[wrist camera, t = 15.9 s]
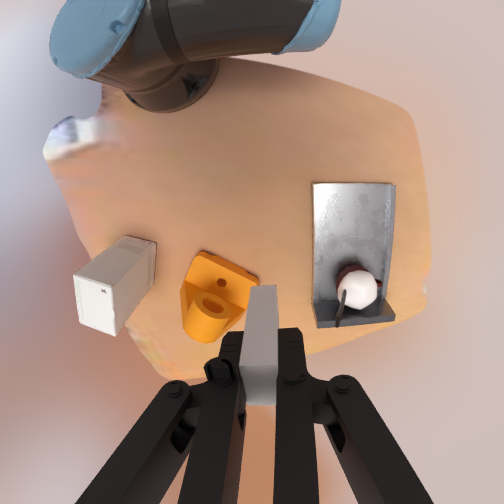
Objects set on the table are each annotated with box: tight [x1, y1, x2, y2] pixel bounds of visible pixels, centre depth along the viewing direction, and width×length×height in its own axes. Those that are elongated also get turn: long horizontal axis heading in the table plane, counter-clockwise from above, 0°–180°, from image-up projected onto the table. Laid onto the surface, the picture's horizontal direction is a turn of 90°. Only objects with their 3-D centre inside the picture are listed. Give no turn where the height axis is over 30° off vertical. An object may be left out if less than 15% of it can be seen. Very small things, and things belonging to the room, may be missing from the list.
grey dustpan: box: [312, 183, 396, 328], centre depth 38 cm, size 20×13×7 cm, turn 4°
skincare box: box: [73, 235, 156, 336], centre depth 37 cm, size 8×7×16 cm
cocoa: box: [335, 265, 382, 328], centre depth 36 cm, size 10×6×12 cm, turn 72°
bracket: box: [180, 251, 259, 343], centre depth 39 cm, size 11×7×12 cm, turn 63°
